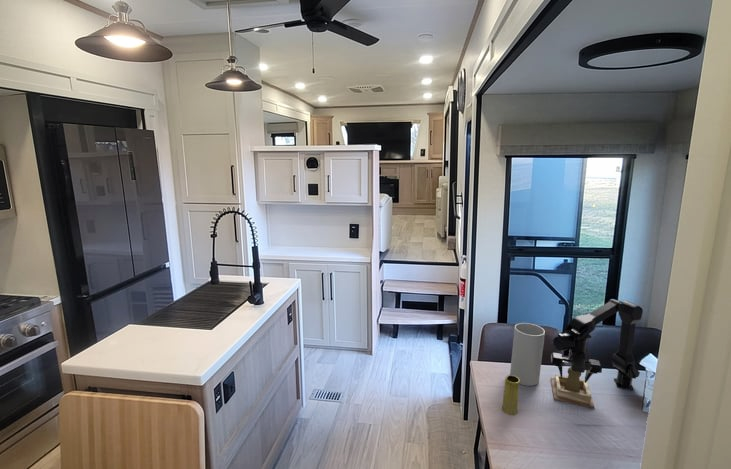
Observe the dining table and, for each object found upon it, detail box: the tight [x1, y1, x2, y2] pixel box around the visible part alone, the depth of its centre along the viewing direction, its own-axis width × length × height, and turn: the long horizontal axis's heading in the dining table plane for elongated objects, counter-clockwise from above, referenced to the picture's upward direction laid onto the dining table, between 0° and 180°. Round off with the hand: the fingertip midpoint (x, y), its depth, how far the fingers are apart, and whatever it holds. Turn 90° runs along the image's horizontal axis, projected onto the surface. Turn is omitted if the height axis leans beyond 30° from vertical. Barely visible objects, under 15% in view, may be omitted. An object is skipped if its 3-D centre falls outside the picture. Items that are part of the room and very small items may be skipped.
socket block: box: [550, 373, 595, 410], centre depth 164 cm, size 16×15×4 cm
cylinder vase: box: [509, 322, 546, 387], centre depth 172 cm, size 12×12×25 cm
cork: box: [564, 366, 582, 393], centre depth 163 cm, size 6×6×11 cm
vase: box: [501, 374, 520, 416], centre depth 152 cm, size 6×6×14 cm
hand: (573, 379), depth 163 cm, fingers open, 9 cm apart
